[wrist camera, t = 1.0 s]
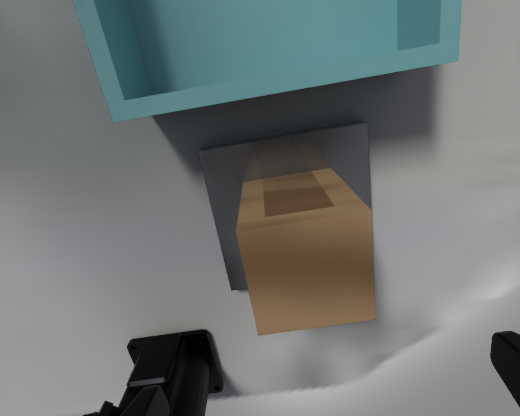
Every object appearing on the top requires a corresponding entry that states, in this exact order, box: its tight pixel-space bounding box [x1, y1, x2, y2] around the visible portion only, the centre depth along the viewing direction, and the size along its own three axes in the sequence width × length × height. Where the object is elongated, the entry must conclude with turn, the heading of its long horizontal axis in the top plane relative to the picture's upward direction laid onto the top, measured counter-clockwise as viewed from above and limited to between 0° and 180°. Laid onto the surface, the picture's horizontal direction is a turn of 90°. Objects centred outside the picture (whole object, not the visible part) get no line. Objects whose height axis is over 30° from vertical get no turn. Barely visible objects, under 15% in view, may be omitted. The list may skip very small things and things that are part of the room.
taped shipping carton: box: [236, 168, 376, 336], centre depth 16 cm, size 5×5×7 cm
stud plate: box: [198, 121, 371, 291], centre depth 18 cm, size 10×10×5 cm
